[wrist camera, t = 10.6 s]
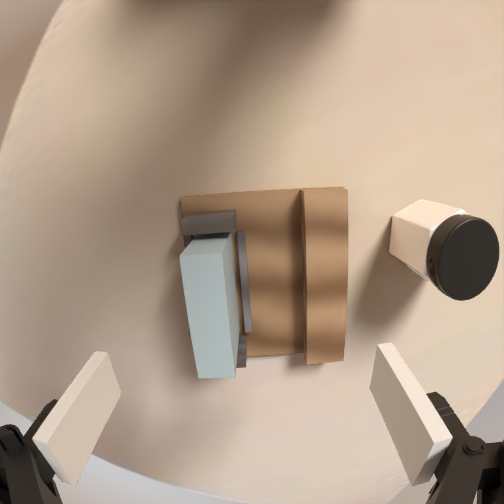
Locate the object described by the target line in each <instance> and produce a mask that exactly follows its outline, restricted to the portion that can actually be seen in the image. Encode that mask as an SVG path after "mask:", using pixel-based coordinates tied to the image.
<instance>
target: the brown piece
mask: <svg viewBox="0 0 504 504" xmlns="http://www.w3.org/2000/svg"><path fill="white" fill-rule="evenodd" d="M180 203H181V213H182V219H181V220H180V222H181V231H182V235H183V236H184V244H185V248H186V247H187V246H188V245H189V244H190V243H191V241H192V240H193V239H194V238H195V237H196V236H197V234H210V233H224V232H231V238H232V250H233V262H234V273H235V285H236V296H237V307H238V318H239V328H240V329H239V341H238V352H237V363H236V368H242V367H246V356H263V355H279V354H292V353H304V356H305V360H306V364H307V365H309V364H319V363H328V362H337V361H343V358H344V345H345V330H346V312H347V287H348V192H347V189H345V188H344V187H329V188H303V189H283V190H265V191H249V192H235V193H222V194H209V195H198V196H187V197H181V198H180Z"/></svg>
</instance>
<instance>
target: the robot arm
mask: <svg viewBox="0 0 504 504" xmlns="http://www.w3.org/2000/svg"><path fill="white" fill-rule="evenodd" d="M370 390H371V392H372V394H373V396H374V399H375V401H376V403H377V405H378V407H379V410H380V412H381V414H382V416H383V419H384V421H385V423H386V426H387V428H388V430H389V433H390V435H391V437H392V440H393V442H394V444H395V447H396V449H397V451H398V454H399V456H400V458H401V461H402V463H403V466H404V468H405V471H406V473H407V476H408V478H409V480H410V483H411V485H412V486H415V485H419V484H422V483H425V482H428V481H429V480H430V479H431V477H432V475H433V474H435V476H436V478H437V481H436V483H435V484H434V486H433V487H432V489H431V491H430V492H429V494H430V496H429V498H428V500H427V502H426V504H473V501H474V498H475V495H476V491H477V504H504V440H503V442H496V443H485V442H484V441H483V440H482V439H481V438H478V437H475V436H470V435H469V434H468V432H467V431H466V429H465V428H464V426H463V424H462V423H461V421H460V420H459V418H458V417H457V415H456V414H454V411H453V410H452V408H451V407H450V405H449V404H448V402H447V401H446V399H445V398H444V397H443V396H441V395H440V394H438V393H437V392H432V393H428V394H426V393H425V392H424V390H423V389H422V387H421V386H420V384H419V383H418V381H417V379H416V378H415V376H414V375H413V373H412V372H411V370H410V369H409V367H408V366H407V364H406V363H405V361H404V360H403V358H402V357H401V355H400V354H399V352H398V351H397V350H396V348H395V347H394V345H393V344H392V342H391V343H383V344H377V349H376V356H375V362H374V368H373V374H372V379H371V385H370ZM120 396H121V391H120V388H119V385H118V382H117V379H116V376H115V373H114V370H113V367H112V363H111V360H110V357H109V353H108V352H101V351H95V352H94V354H93V355H92V356H91V357H90V359H89V360H88V361H87V363H86V364H85V365H84V367H83V368H82V369H81V371H80V372H79V373H78V375H77V376H76V377H75V379H74V380H73V381H72V383H71V384H70V386H69V387H68V388H67V390H66V391H65V392H64V394H63V395H62V397H61V398H60V399H59V400H55V399H54V400H53V401H51V402H50V403H49V404H47V405H46V406H45V407H44V409H43V410H42V412H41V414H39V416H38V417H37V420H35V421H34V423H33V424H32V425H31V427H30V428H29V430H28V431H27V432H26V434H25V435H24V437H23V435H22V434H21V432H20V430H19V428H18V427H16V426H15V425H11V424H9V425H4V426H1V427H0V504H63V503H62V501H61V498H60V495H59V493H58V490H57V487H56V484H55V482H54V480H53V479H52V478H53V476H54V475H55V474H56V475H57V476H58V478H59V479H60V480H61V481H62V482H65V483H68V484H72V485H75V486H76V484H77V482H78V480H79V478H80V475H81V473H82V471H83V469H84V467H85V465H86V463H87V461H88V459H89V457H90V455H91V453H92V451H93V449H94V447H95V445H96V443H97V441H98V439H99V437H100V435H101V433H102V431H103V429H104V427H105V425H106V423H107V421H108V419H109V417H110V415H111V413H112V411H113V409H114V407H115V405H116V403H117V401H118V400H119V398H120Z"/></svg>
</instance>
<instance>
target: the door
mask: <svg viewBox="0 0 504 504" xmlns="http://www.w3.org/2000/svg"><path fill="white" fill-rule="evenodd" d="M179 259H180V266H181V274H182V281H183V288H184V295H185V302H186V309H187V315H188V322H189V335H190V338H191V340H192V346H193V351H194V357H195V363H196V368H197V373H198V378H235V375H236V363H237V352H238V341H239V329H240V328H239V318H238V307H237V296H236V285H235V273H234V262H233V250H232V238H231V232H224V233H210V234H197V236H196V237H195V238H194V239H193V240H192V241H191V243H190V244H189V245H188V246H187V247H186V248H185V250H184V251H183V252H182V253H181V254H180V256H179Z"/></svg>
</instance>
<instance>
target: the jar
mask: <svg viewBox="0 0 504 504" xmlns="http://www.w3.org/2000/svg"><path fill="white" fill-rule="evenodd" d="M389 252H390V253H391V254H392V255H393V256H395V257H396V258H398V259H399V260H400V261H402V262H403V263H405V264H406V265H407V267H408V268H410V269H411V270H412V271H414V272H415V273H417V274H418V275H419V276H421V277H422V278H423V279H425V280H426V281H430V282H431V283H432V284H434V285H435V286H436V287H437V288H438V290H440V291H441V292H442V293H443V294H445V295H446V296H448V297H450V298H452V299H455V300H459V301H464V300H469V299H472V298H474V297H476V296H477V295H479V294H480V293H481V292H482V291H483V290H484V289H485V288H486V287H487V286H488V284H489V283H490V282H491V280H492V278H493V276H494V274H495V271H496V269H497V265H498V261H499V242H498V238H497V235H496V233H495V231H494V229H493V227H492V226H491V225H490V224H489V223H488V222H487V221H485V220H483V219H481V218H477V217H474V216H470V215H468V214H467V213H466V212H465V211H464V210H463V209H460V208H456V207H452V206H448V205H444V204H440V203H436V202H432V201H427V200H423V199H420V200H418V201H417V202H415V203H413V204H411V205H410V206H408V207H406V208H404V209H403V210H401V211H399V212H397V213H396V214H394V215H393V216H392V227H391V237H390V246H389Z"/></svg>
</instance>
